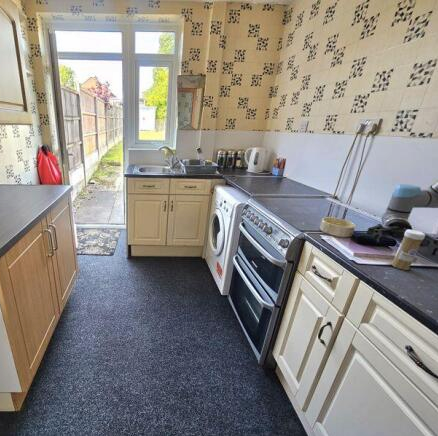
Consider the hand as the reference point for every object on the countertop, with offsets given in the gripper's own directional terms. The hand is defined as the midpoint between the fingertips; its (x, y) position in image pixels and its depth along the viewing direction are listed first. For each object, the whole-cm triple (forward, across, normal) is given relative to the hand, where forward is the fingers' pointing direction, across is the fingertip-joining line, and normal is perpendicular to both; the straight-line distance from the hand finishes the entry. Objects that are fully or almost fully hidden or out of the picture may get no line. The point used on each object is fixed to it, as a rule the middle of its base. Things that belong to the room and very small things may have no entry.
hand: (406, 245), depth 85 cm
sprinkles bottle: (+3, 0, -7) cm, 8 cm away
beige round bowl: (-19, +19, -7) cm, 28 cm away
